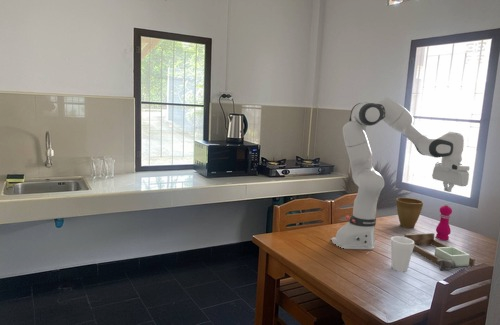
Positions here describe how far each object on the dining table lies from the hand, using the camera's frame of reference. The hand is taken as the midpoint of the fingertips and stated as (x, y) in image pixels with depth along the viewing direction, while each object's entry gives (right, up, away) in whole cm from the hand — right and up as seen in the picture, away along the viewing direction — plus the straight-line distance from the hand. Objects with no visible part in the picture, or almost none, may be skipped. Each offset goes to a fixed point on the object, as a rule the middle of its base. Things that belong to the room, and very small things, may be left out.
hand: (447, 191), depth 190 cm
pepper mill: (+6, -27, +17) cm, 33 cm away
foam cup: (-35, -32, -26) cm, 54 cm away
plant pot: (-6, -24, +36) cm, 44 cm away
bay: (-11, -30, -10) cm, 34 cm away
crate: (-7, -32, -17) cm, 36 cm away
